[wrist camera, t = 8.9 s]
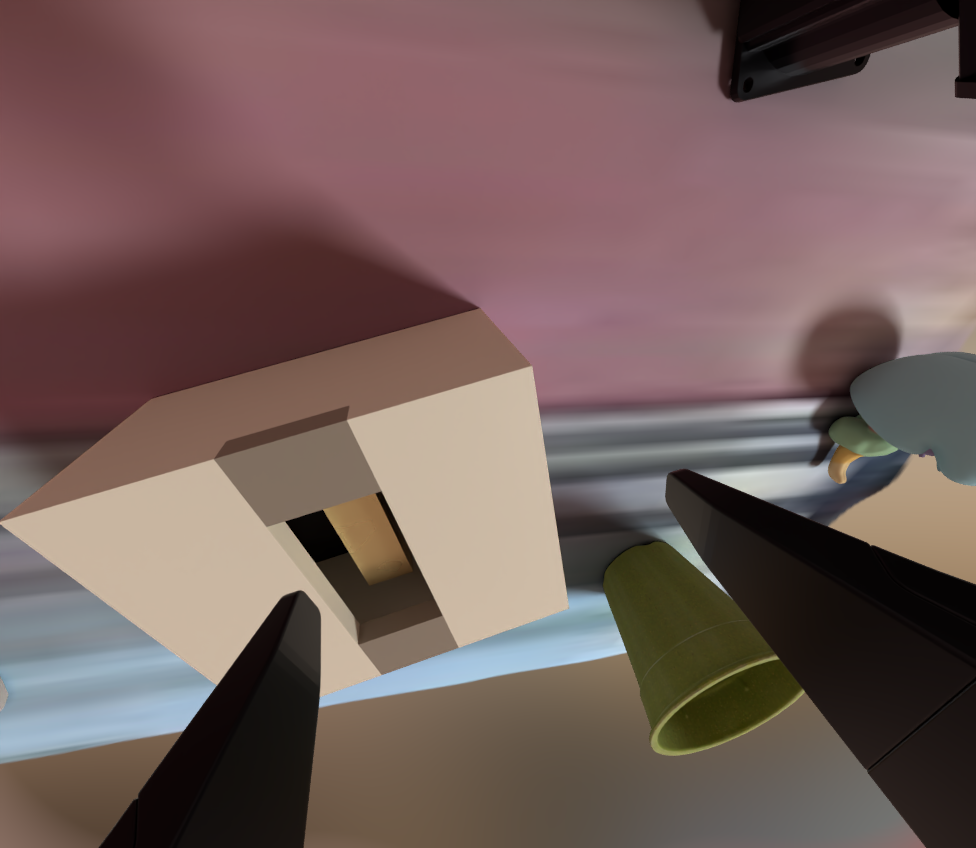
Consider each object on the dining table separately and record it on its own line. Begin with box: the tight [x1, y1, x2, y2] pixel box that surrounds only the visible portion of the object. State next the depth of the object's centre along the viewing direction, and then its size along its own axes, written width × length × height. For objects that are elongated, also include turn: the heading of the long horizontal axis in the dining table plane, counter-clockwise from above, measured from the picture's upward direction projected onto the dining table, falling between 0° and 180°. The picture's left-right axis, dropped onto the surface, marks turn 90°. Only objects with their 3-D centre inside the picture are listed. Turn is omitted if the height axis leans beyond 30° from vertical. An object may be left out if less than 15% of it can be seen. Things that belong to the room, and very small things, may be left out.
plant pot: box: [603, 542, 805, 755], centre depth 29 cm, size 12×12×11 cm
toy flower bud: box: [828, 352, 976, 486], centre depth 26 cm, size 7×9×12 cm
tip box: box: [0, 308, 569, 697], centre depth 18 cm, size 16×14×8 cm
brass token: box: [323, 491, 413, 586], centre depth 19 cm, size 2×6×6 cm, turn 11°
